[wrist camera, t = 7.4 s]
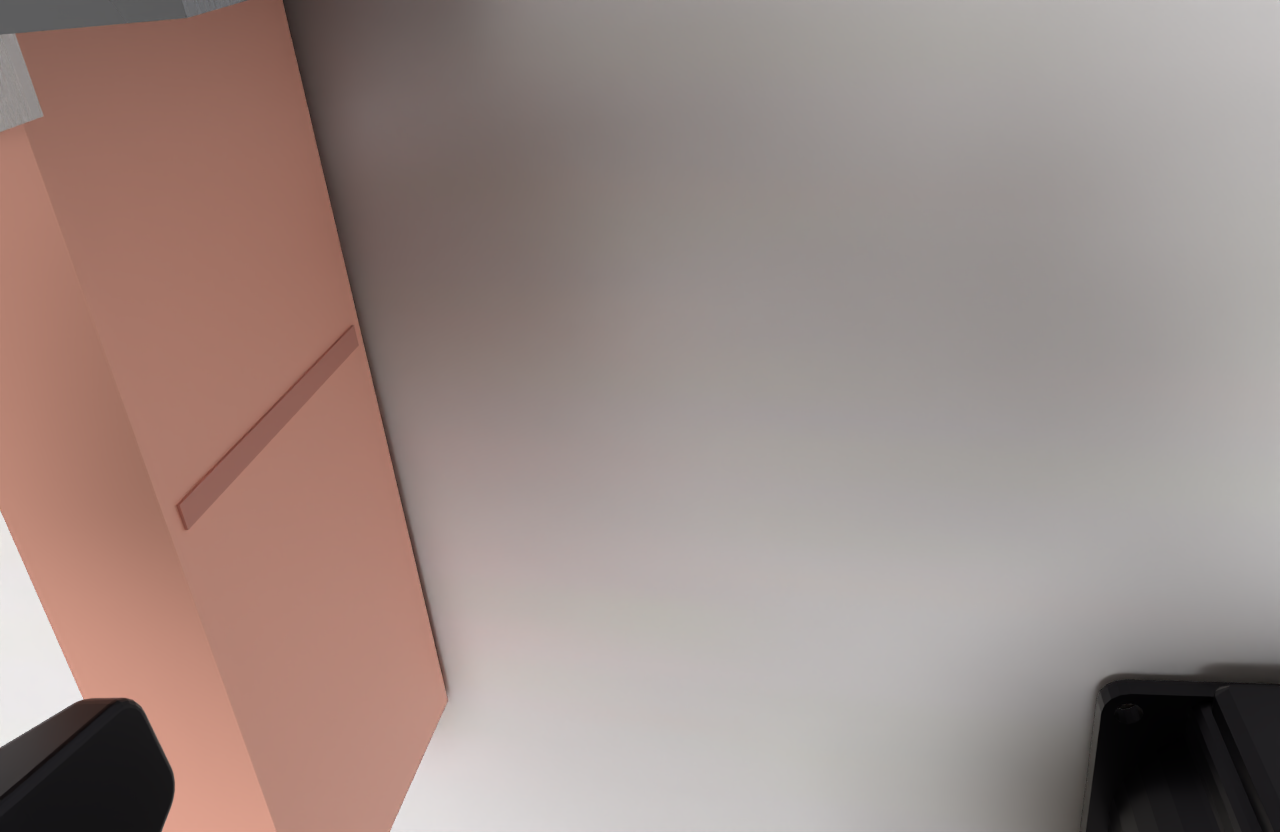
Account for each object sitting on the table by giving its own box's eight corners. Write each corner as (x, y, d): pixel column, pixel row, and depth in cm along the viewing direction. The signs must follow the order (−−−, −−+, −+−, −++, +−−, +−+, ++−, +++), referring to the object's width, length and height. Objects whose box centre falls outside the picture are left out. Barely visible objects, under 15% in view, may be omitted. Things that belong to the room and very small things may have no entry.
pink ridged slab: (449, 700, 24) (329, 972, 18) (345, 696, 25) (195, 960, 19) (246, -162, 16) (-73, -156, 11) (98, -144, 17) (-284, -129, 11)
